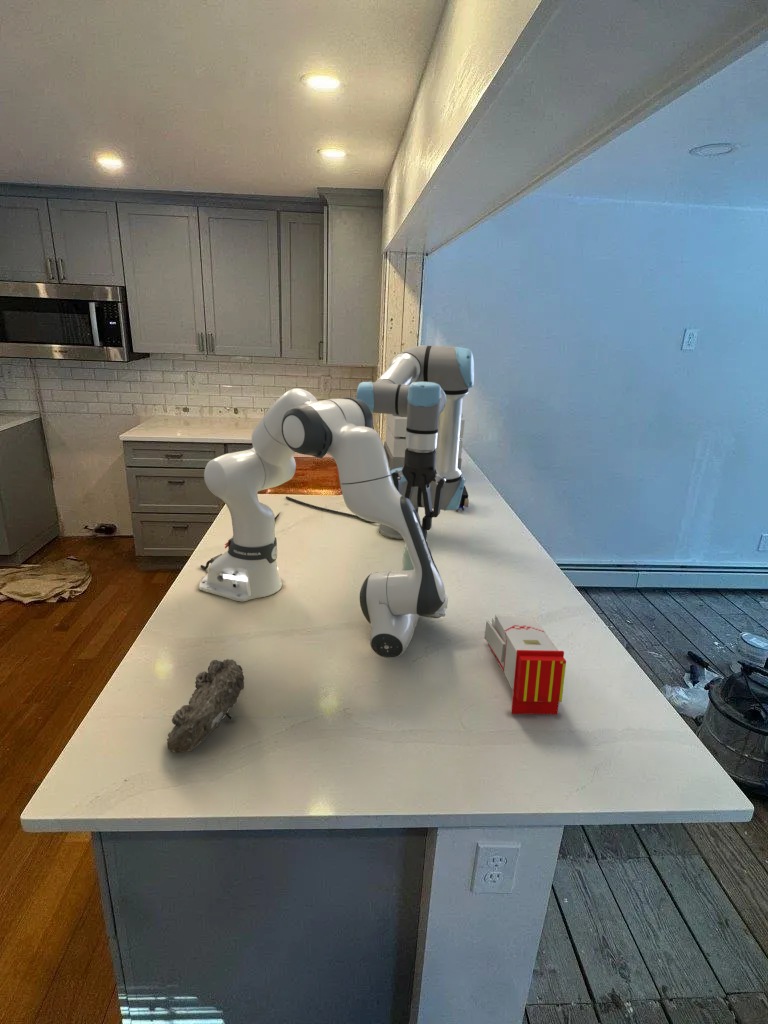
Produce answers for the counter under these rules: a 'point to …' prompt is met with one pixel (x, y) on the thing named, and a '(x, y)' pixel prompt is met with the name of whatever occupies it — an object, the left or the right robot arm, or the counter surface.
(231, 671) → the fossil
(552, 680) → the toy
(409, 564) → the bottle
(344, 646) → the counter surface
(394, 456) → the white storage crate
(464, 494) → the figurine character
